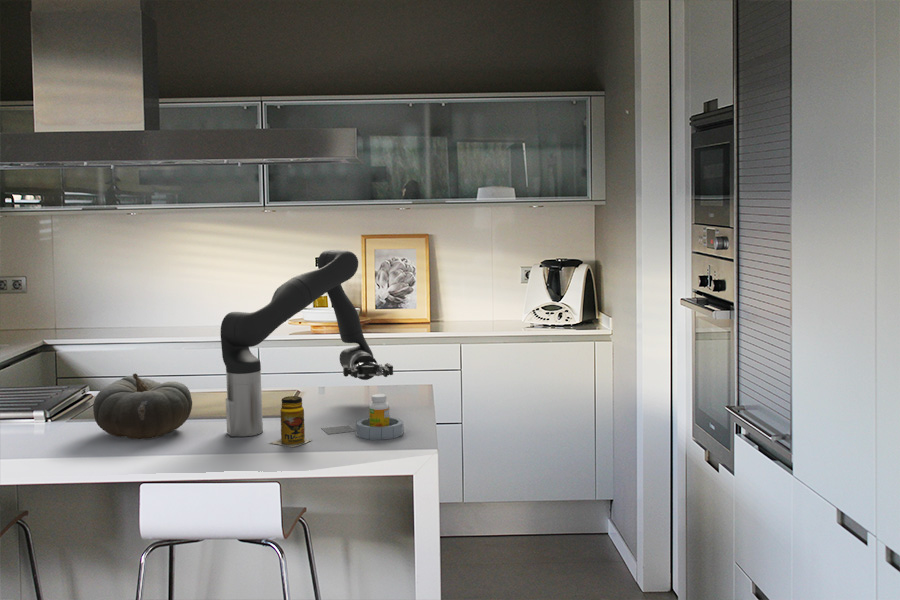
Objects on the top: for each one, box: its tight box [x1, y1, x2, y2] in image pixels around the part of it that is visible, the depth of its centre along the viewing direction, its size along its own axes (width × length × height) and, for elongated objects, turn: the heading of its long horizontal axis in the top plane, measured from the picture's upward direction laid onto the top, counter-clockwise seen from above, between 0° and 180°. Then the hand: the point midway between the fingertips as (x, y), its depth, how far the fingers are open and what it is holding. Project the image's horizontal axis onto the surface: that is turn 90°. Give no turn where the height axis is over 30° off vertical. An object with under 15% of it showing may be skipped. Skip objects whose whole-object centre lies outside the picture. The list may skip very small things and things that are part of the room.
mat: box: [320, 425, 356, 435], centre depth 238 cm, size 8×7×1 cm
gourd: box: [92, 372, 193, 440], centre depth 236 cm, size 25×25×17 cm
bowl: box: [355, 416, 405, 441], centre depth 233 cm, size 12×12×3 cm
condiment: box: [270, 395, 312, 448], centre depth 225 cm, size 7×8×12 cm
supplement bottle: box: [368, 393, 390, 427], centre depth 233 cm, size 5×5×10 cm
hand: (371, 373), depth 242 cm, fingers open, 8 cm apart
